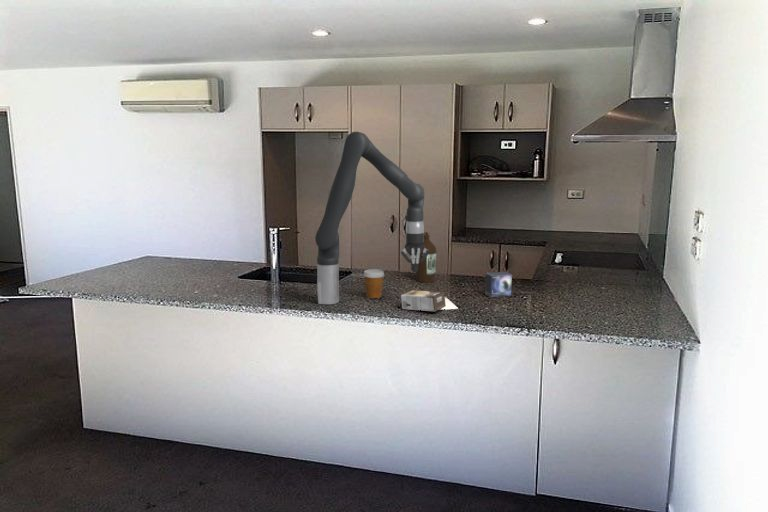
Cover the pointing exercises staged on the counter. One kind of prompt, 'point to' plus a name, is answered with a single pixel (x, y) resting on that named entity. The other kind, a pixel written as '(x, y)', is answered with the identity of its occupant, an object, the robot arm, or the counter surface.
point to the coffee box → (423, 300)
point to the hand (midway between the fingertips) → (414, 272)
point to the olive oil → (427, 262)
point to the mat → (448, 305)
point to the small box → (498, 284)
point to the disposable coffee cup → (373, 282)
